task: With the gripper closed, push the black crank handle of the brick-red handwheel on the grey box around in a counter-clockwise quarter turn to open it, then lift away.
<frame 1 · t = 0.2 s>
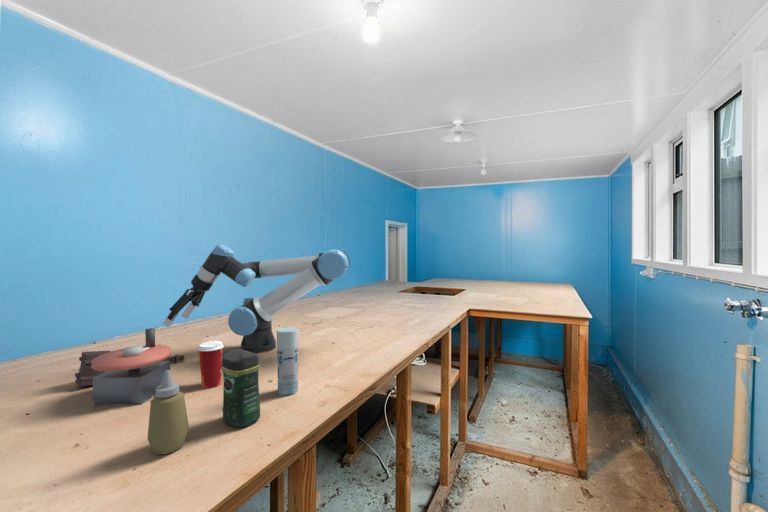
hand: (175, 321, 137), 16 cm above the table, tool tilted 35°, fingers open, 13 cm apart
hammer: (136, 373, 123), on the table
squeeze bottle: (169, 448, 78), on the table
coffee jar: (241, 420, 90), on the table
handwheel: (133, 351, 105), point 13 cm above the table, hinge at 0.0°
spray paint can: (288, 392, 107), on the table
grey box: (134, 393, 106), on the table
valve: (125, 360, 138), on the table
paper cup: (211, 385, 112), on the table
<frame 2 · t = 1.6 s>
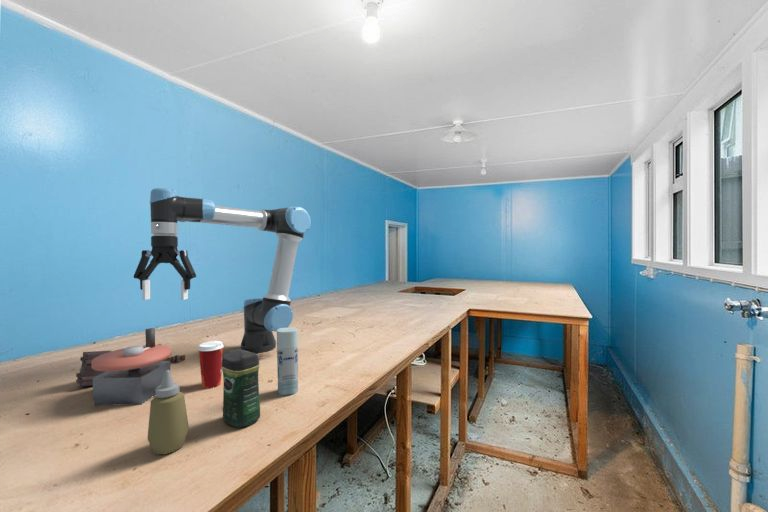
hand: (165, 299, 113), 29 cm above the table, tool pointing down, fingers open, 12 cm apart
nothing on the table moved.
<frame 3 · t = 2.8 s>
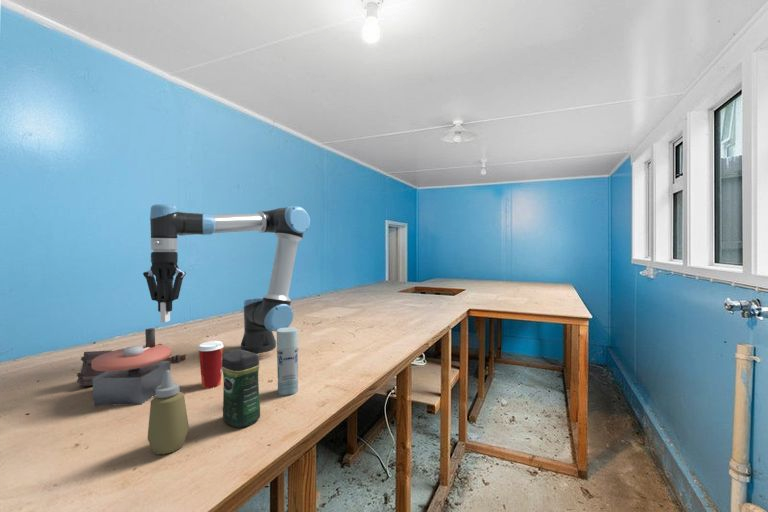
hand: (165, 321, 113), 21 cm above the table, tool pointing down, fingers closed
nothing on the table moved.
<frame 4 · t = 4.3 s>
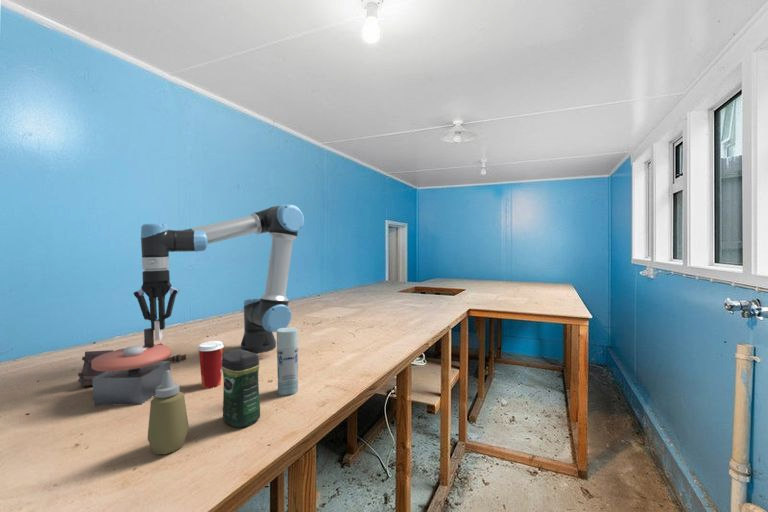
hand: (158, 339, 113), 15 cm above the table, tool pointing down, fingers closed
handwheel: (133, 351, 105), point 13 cm above the table, hinge at 3.1°, touching gripper
everything else where it was.
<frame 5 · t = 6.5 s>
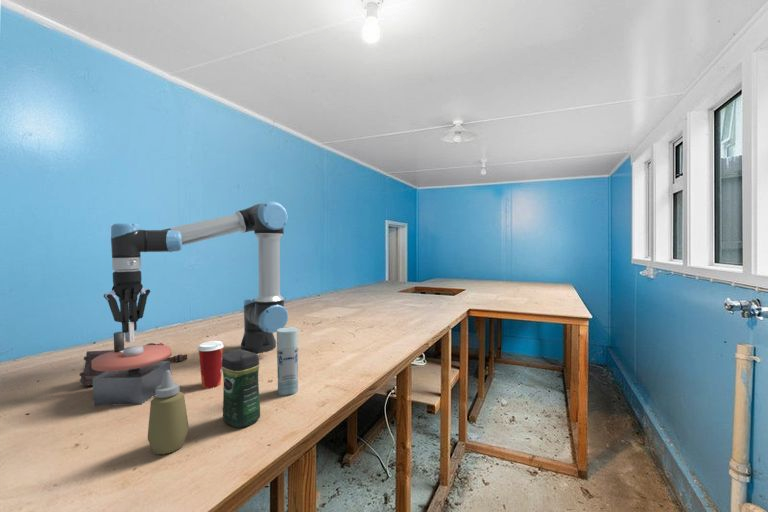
hand: (129, 341, 111), 15 cm above the table, tool pointing down, fingers closed
handwheel: (133, 351, 105), point 13 cm above the table, hinge at 62.9°, touching gripper
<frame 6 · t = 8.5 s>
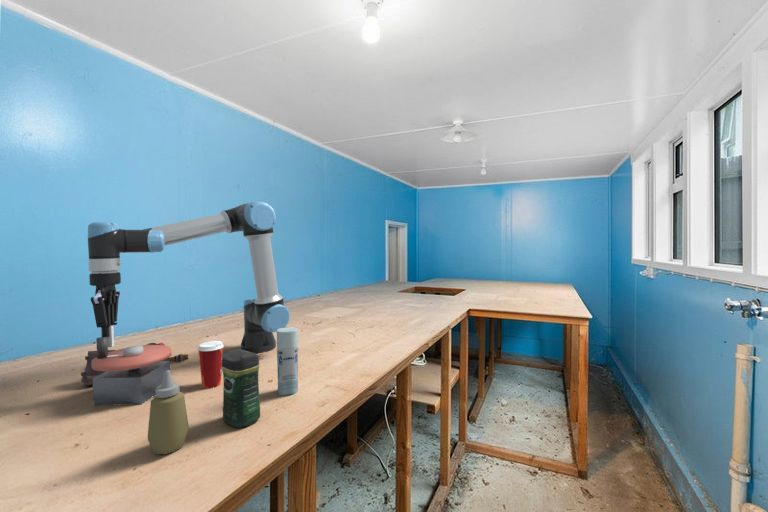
hand: (108, 346, 106), 15 cm above the table, tool pointing down, fingers closed
handwheel: (133, 351, 105), point 13 cm above the table, hinge at 107.1°, touching gripper
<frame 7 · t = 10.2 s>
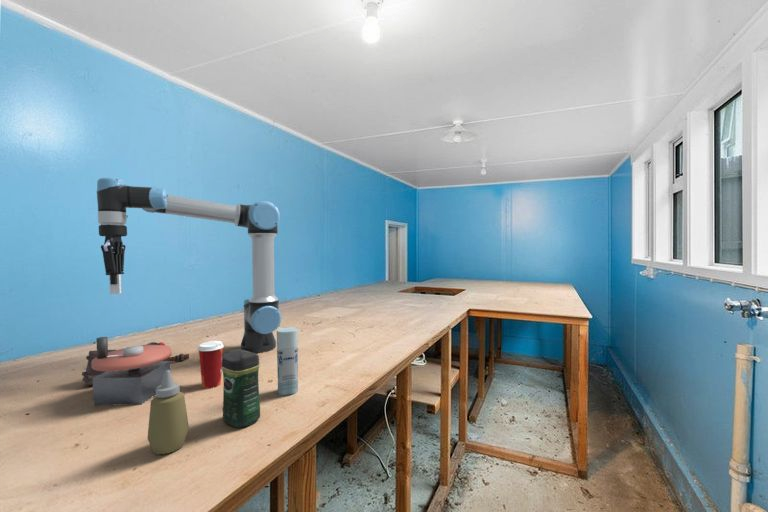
hand: (115, 293, 115), 30 cm above the table, tool pointing down, fingers closed
handwheel: (133, 351, 105), point 13 cm above the table, hinge at 107.2°
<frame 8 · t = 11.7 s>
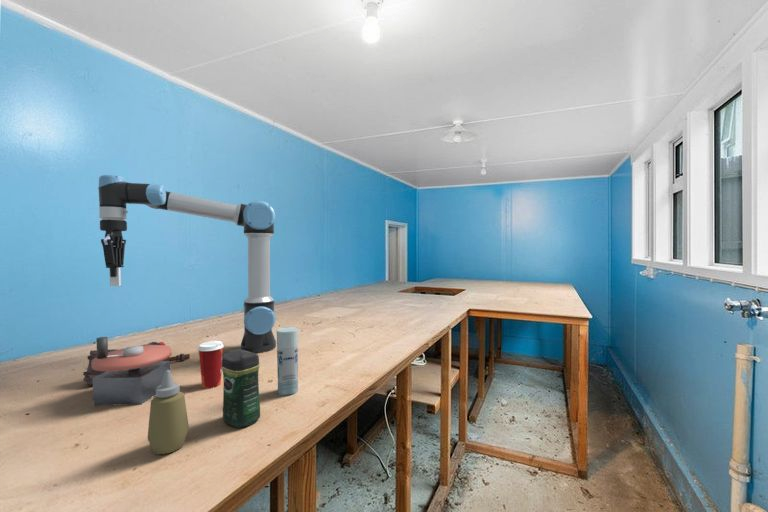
hand: (115, 285, 120), 32 cm above the table, tool pointing down, fingers closed
at the end: handwheel at +107° (first picture: +0°) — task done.
